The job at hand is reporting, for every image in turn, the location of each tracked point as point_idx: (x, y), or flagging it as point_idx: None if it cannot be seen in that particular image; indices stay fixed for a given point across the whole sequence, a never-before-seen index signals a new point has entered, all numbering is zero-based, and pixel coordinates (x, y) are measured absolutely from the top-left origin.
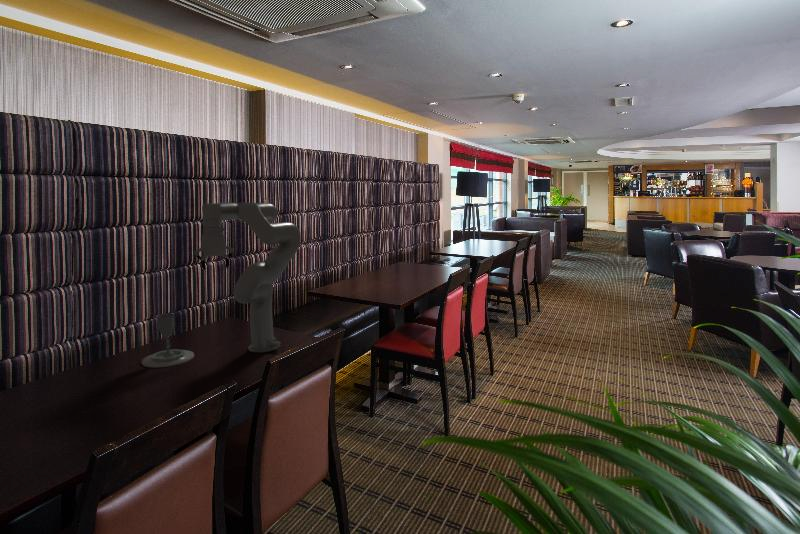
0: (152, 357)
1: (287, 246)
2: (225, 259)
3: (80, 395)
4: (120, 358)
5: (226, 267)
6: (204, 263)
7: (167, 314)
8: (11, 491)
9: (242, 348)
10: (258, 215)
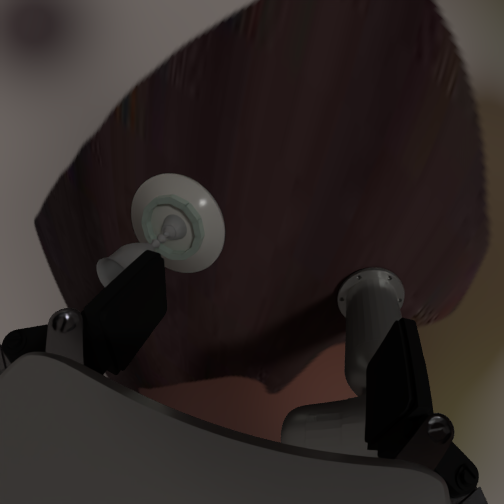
0: (144, 232)
1: None
2: (377, 434)
3: (93, 292)
4: (101, 156)
5: (368, 369)
6: (129, 355)
7: (118, 262)
8: None
9: (336, 263)
10: None
